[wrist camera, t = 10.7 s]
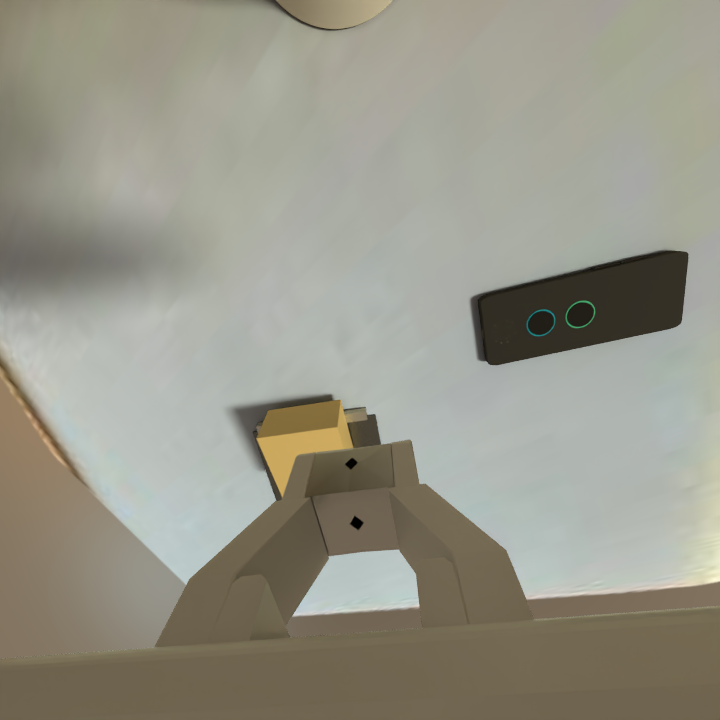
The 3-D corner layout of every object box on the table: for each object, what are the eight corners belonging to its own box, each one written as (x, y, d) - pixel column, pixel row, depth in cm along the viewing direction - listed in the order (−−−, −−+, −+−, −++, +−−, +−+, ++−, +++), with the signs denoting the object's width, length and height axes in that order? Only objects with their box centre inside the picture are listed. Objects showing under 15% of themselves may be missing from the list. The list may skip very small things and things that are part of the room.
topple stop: (250, 423, 43) (248, 427, 42) (373, 406, 41) (373, 410, 41) (278, 501, 48) (276, 506, 47) (389, 488, 46) (389, 493, 45)
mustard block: (256, 438, 36) (283, 500, 41) (337, 427, 35) (355, 491, 40) (268, 410, 41) (291, 469, 45) (340, 399, 40) (356, 460, 44)
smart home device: (480, 297, 35) (690, 247, 32) (475, 294, 36) (675, 246, 34) (489, 368, 38) (682, 328, 35) (484, 362, 39) (668, 323, 37)
